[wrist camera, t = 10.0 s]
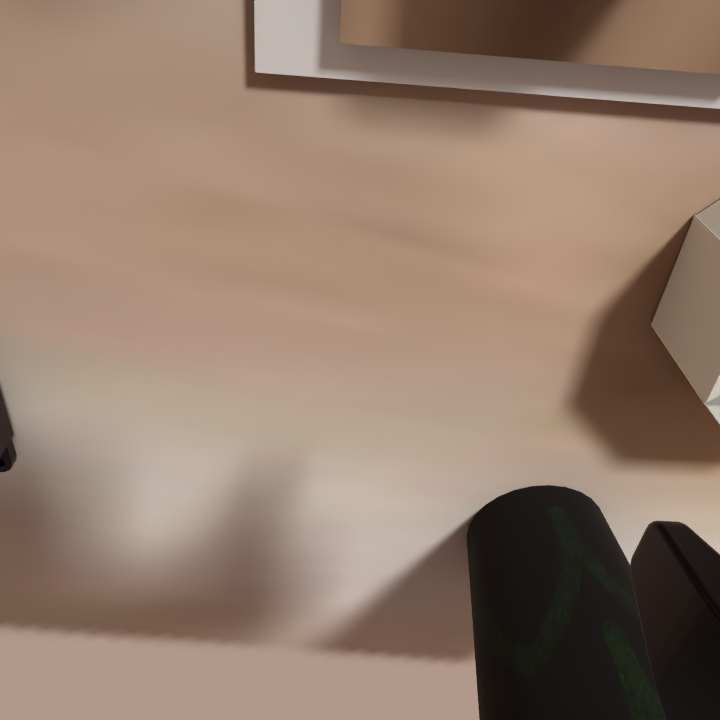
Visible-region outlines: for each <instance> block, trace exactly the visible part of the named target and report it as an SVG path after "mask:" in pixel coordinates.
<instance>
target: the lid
mask: <svg viewBox="0 0 720 720" xmlns="http://www.w3.org/2000/svg"><path fill="white" fill-rule="evenodd" d="M339 43H341V44H353V45H366V46H378V47H390V48H403V49H415V50H427V51H439V52H452V53H464V54H476V55H488V56H501V57H513V58H525V59H537V60H550V61H562V62H574V63H587V64H599V65H611V66H623V67H636V68H648V69H660V70H672V71H685V72H697V73H709V74H720V0H341V14H340V32H339Z"/></svg>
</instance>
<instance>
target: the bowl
mask: <svg viewBox="0 0 720 720" xmlns="http://www.w3.org/2000/svg"><path fill="white" fill-rule="evenodd" d="M651 326H652V328H653V329H654V331H655V332H656V334H657V335H658V337H659V338H660V340H661V341H662V343H663V344H664V346H665V347H666V349H667V350H668V352H669V353H670V355H671V356H672V357H673V359H674V360H675V362H676V363H677V365H678V366H679V368H680V369H681V371H682V372H683V374H684V375H685V377H686V378H687V380H688V381H689V383H690V384H691V386H692V387H693V389H694V390H695V392H696V393H697V395H698V396H699V398H700V399H701V401H702V402H703V404H704V405H706V406H707V407H708V409H709V410H710V412H711V413H712V414H713V416H714V417H715V419H716V420H717V421H718V423H719V424H720V200H718V201H717V202H715V203H714V204H712V205H711V206H709V207H708V208H706V209H704V210H703V211H701V212H700V213H698V214H697V215H694V217H693V220H692V223H691V225H690V228H689V230H688V233H687V235H686V238H685V240H684V243H683V245H682V248H681V250H680V253H679V255H678V258H677V260H676V263H675V265H674V268H673V270H672V273H671V276H670V278H669V281H668V283H667V286H666V288H665V291H664V293H663V296H662V298H661V301H660V303H659V306H658V308H657V311H656V313H655V316H654V318H653V321H652V323H651Z"/></svg>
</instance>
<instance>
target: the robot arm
mask: <svg viewBox="0 0 720 720" xmlns="http://www.w3.org/2000/svg"><path fill="white" fill-rule="evenodd" d="M12 436H13V431H12V428H11V425H10V421H9V418H8V415H7V411H6V408H5V405H4V402H3V398H2V395H1V392H0V458H1V459H0V472H6V471H8V470H10V469H11V467H12V466H13V464H14V462H15V460H16V452H15V449H14V446H13V442H12V439H11V438H12ZM630 572H631V579H632V583H633V588H634V593H635V597H636V602H637V607H638V611H639V616H640V621H641V625H642V630H643V635H644V639H645V644H646V649H647V653H648V658H649V663H650V667H651V671H652V675H653V680H654V684H655V687H656V690H657V694H658V697H659V700H660V703H661V707H662V710H663V713H664V716H665V719H666V720H720V554H719V553H717V552H716V551H715V550H714V549H713V548H712V547H711V546H710V545H708V544H707V543H706V542H705V541H704V540H703V539H702V538H701V537H699V536H698V535H697V534H696V533H695V532H694V531H693V530H691V529H690V528H689V527H688V526H686V525H685V524H683V523H680V522H671V521H653V522H652V523H650V524H649V525H648V527H647V528H646V530H645V532H644V534H643V536H642V538H641V540H640V542H639V544H638V546H637V548H636V550H635V552H634V554H633V556H632V559H631V565H630Z"/></svg>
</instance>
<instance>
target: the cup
mask: <svg viewBox="0 0 720 720" xmlns="http://www.w3.org/2000/svg"><path fill="white" fill-rule="evenodd" d="M467 547H468V561H469V575H470V590H471V604H472V618H473V632H474V647H475V661H476V675H477V689H478V702H479V717H480V720H666V719H665V716H664V713H663V710H662V707H661V703H660V700H659V697H658V694H657V690H656V687H655V684H654V680H653V675H652V671H651V667H650V663H649V658H648V653H647V649H646V644H645V639H644V635H643V630H642V625H641V621H640V616H639V611H638V607H637V602H636V597H635V593H634V588H633V583H632V579H631V572H630V564H629V562H628V561H627V559H626V557H625V555H624V553H623V551H622V549H621V547H620V546H619V544H618V542H617V540H616V538H615V536H614V534H613V532H612V531H611V529H610V527H609V525H608V523H607V521H606V519H605V518H604V516H603V514H602V512H601V510H600V508H599V507H598V506H597V505H596V503H595V502H594V501H593V500H592V499H591V498H589V497H588V496H586V495H584V494H583V493H581V492H579V491H576V490H573V489H569V488H566V487H558V486H533V487H528V488H523V489H519V490H515V491H512V492H510V493H507V494H505V495H502V496H500V497H498V498H496V499H495V500H493V501H492V502H490V503H489V504H487V505H486V506H484V507H483V508H482V509H481V510H480V511H479V512H478V513H477V514H476V515H475V517H474V519H473V520H472V522H471V524H470V526H469V529H468V534H467Z"/></svg>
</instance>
